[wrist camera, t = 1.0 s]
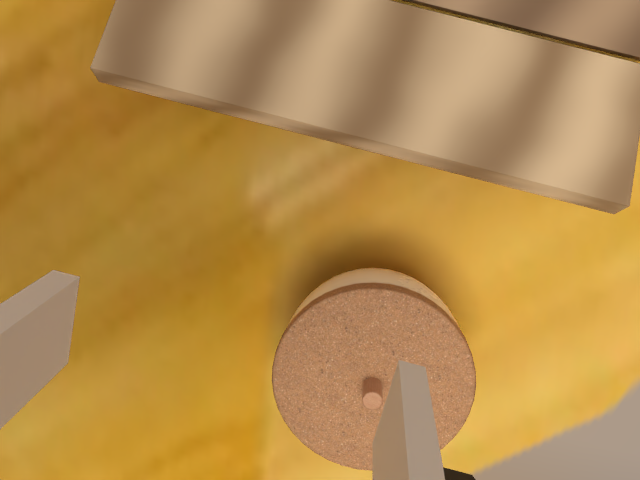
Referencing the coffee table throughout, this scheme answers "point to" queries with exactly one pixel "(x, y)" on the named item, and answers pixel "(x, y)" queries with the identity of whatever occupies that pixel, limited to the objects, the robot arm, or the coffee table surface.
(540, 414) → the coffee table surface
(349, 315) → the lidded jar
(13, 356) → the robot arm
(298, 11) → the plank
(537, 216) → the coffee table surface
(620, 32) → the laid board
